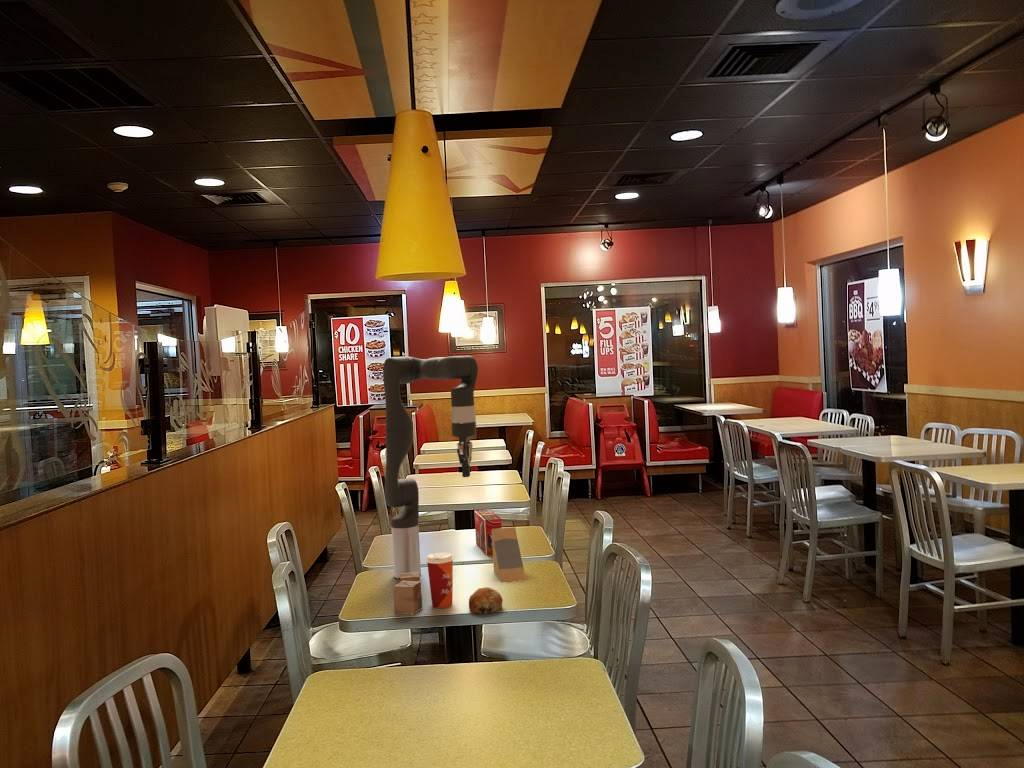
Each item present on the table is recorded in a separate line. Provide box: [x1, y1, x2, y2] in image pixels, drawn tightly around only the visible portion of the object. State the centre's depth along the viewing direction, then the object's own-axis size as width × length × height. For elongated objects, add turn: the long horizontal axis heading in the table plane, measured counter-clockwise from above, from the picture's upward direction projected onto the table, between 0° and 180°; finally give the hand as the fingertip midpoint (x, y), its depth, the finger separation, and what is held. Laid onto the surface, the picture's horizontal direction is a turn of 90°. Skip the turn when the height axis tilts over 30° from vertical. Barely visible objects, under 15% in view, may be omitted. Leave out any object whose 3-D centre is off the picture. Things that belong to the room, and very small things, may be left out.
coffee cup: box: [425, 552, 455, 609], centre depth 245 cm, size 8×8×15 cm
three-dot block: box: [393, 580, 423, 614], centre depth 242 cm, size 6×6×8 cm
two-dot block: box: [399, 572, 421, 583], centre depth 252 cm, size 6×6×8 cm
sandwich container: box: [492, 526, 527, 583], centre depth 275 cm, size 9×15×15 cm, turn 11°
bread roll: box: [468, 586, 504, 615], centre depth 240 cm, size 10×10×8 cm
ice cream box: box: [474, 509, 503, 556], centre depth 316 cm, size 20×6×13 cm, turn 13°
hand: (466, 476), depth 253 cm, fingers closed
